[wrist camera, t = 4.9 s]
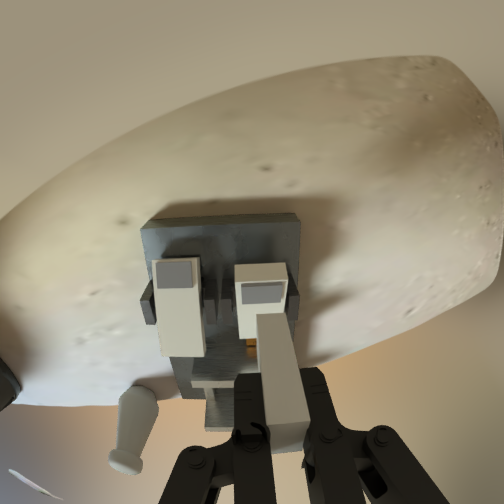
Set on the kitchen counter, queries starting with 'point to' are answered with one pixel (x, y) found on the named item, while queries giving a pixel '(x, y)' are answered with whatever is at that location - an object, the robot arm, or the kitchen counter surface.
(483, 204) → the kitchen counter surface
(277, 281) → the rocker
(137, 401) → the salt shaker
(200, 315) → the rocker
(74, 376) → the kitchen counter surface
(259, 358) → the robot arm
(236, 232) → the grey mechanical fixture
